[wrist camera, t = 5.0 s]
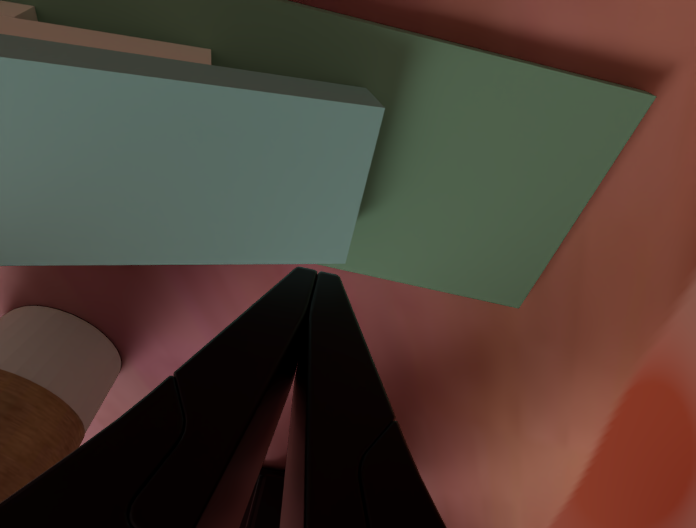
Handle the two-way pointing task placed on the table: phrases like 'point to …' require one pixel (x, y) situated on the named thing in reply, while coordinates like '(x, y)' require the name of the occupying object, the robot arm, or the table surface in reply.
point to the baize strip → (421, 133)
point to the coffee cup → (48, 389)
